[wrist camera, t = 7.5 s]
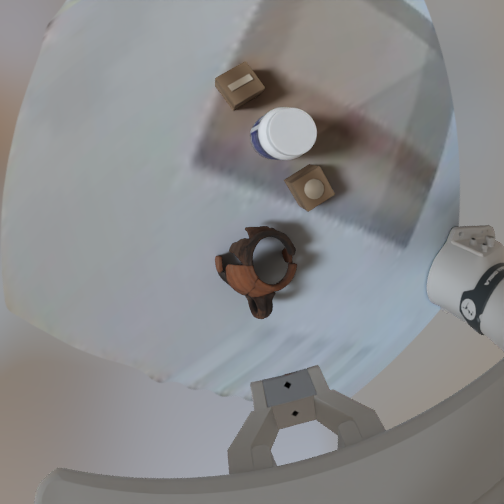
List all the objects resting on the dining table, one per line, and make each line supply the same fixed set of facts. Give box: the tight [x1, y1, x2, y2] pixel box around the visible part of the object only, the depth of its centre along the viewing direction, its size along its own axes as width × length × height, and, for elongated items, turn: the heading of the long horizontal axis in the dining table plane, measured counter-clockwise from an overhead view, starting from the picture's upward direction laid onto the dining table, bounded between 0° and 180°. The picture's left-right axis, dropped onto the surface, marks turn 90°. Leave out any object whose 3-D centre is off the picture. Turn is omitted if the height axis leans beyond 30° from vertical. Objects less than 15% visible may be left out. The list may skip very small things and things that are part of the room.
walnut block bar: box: [215, 61, 265, 110], centre depth 29 cm, size 4×4×4 cm
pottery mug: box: [215, 226, 297, 319], centre depth 36 cm, size 12×10×8 cm
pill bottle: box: [250, 107, 317, 160], centre depth 28 cm, size 6×6×10 cm
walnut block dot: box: [284, 164, 335, 212], centre depth 34 cm, size 4×4×4 cm
